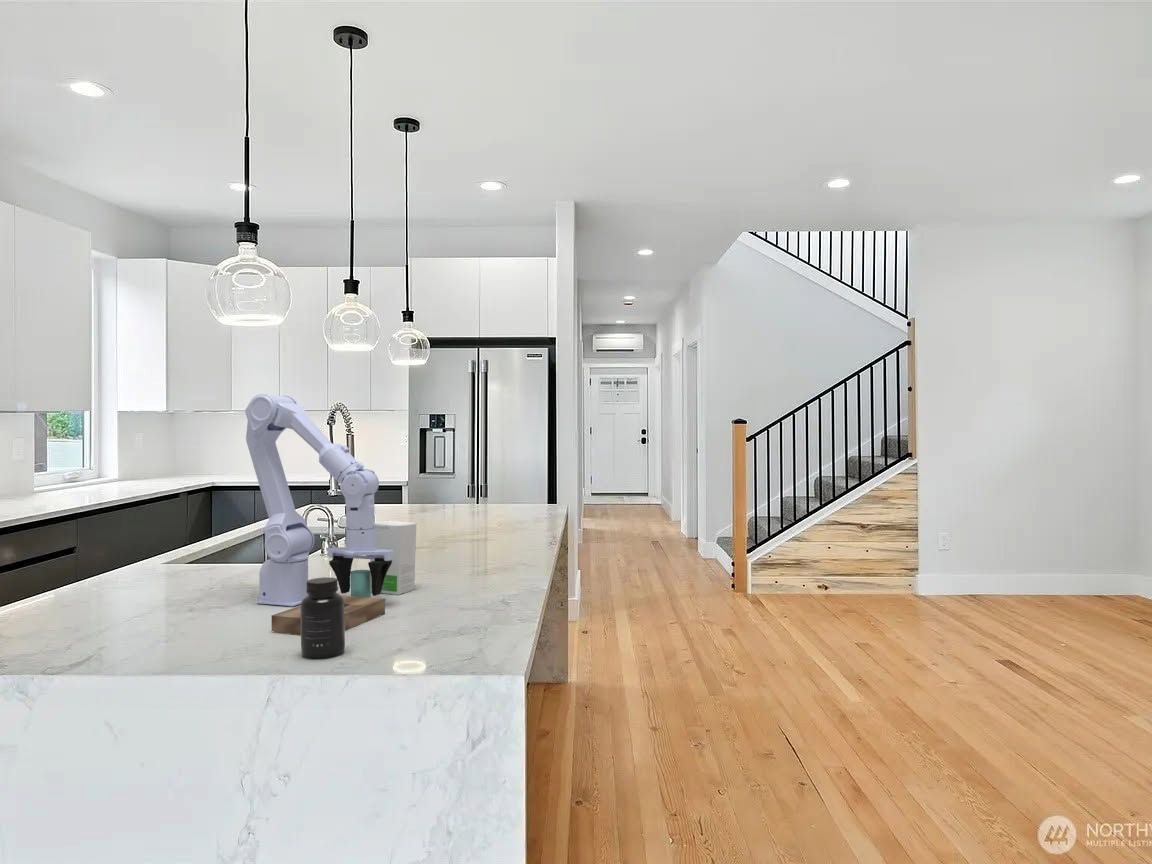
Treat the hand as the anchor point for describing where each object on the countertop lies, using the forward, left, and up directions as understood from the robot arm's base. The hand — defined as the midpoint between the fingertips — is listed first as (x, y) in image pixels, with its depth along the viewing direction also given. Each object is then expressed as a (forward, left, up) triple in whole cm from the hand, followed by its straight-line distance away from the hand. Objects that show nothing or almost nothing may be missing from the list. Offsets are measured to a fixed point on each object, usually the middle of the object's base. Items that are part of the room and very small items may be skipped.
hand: (360, 593), depth 157 cm
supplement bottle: (+14, -31, -3) cm, 34 cm away
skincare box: (-1, +14, -3) cm, 14 cm away
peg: (0, 0, -2) cm, 2 cm away
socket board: (+3, -14, -2) cm, 14 cm away
